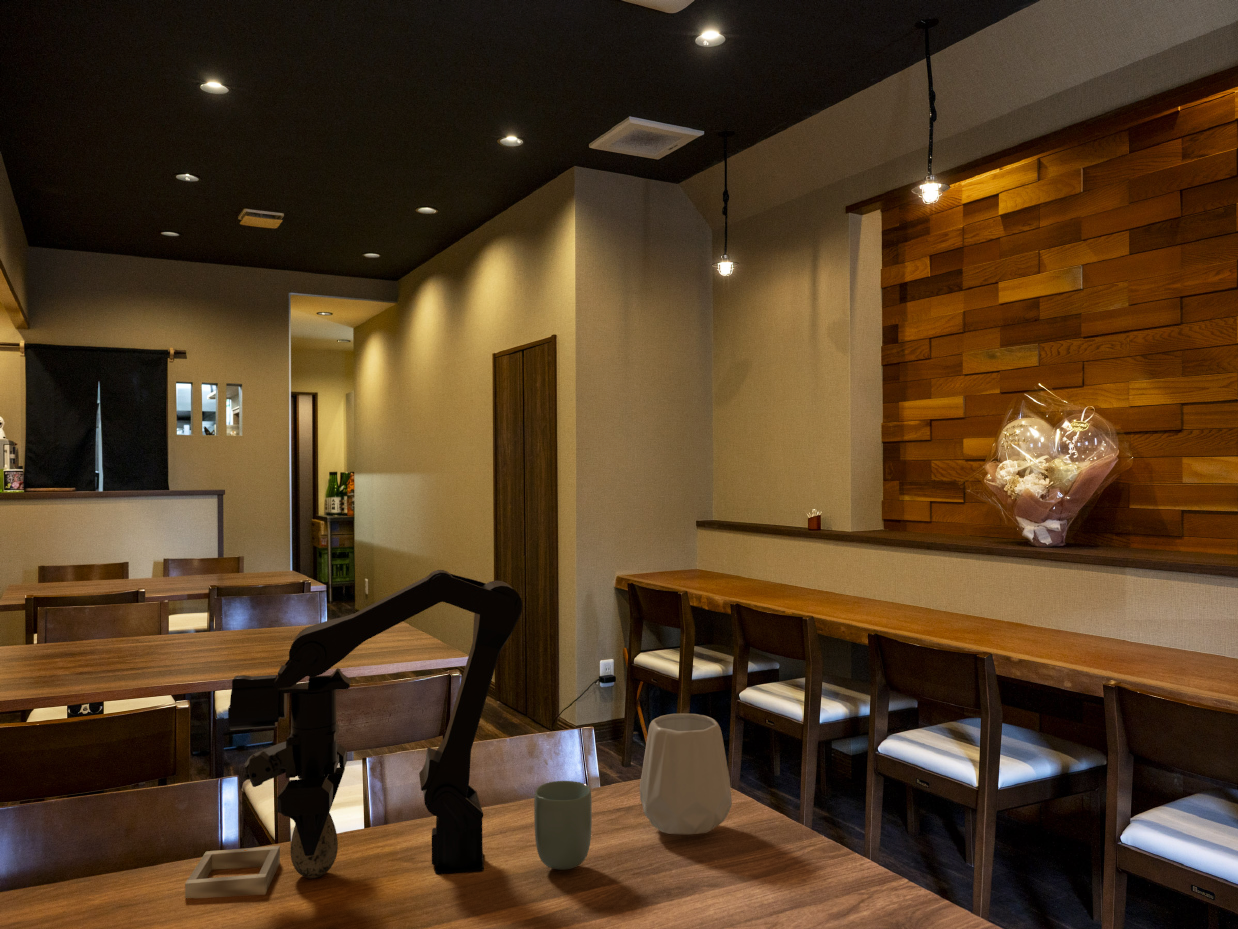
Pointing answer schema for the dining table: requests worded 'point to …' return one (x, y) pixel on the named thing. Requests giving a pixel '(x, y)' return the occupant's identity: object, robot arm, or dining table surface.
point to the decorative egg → (323, 853)
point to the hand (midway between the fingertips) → (315, 840)
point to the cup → (563, 823)
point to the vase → (685, 775)
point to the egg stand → (233, 885)
